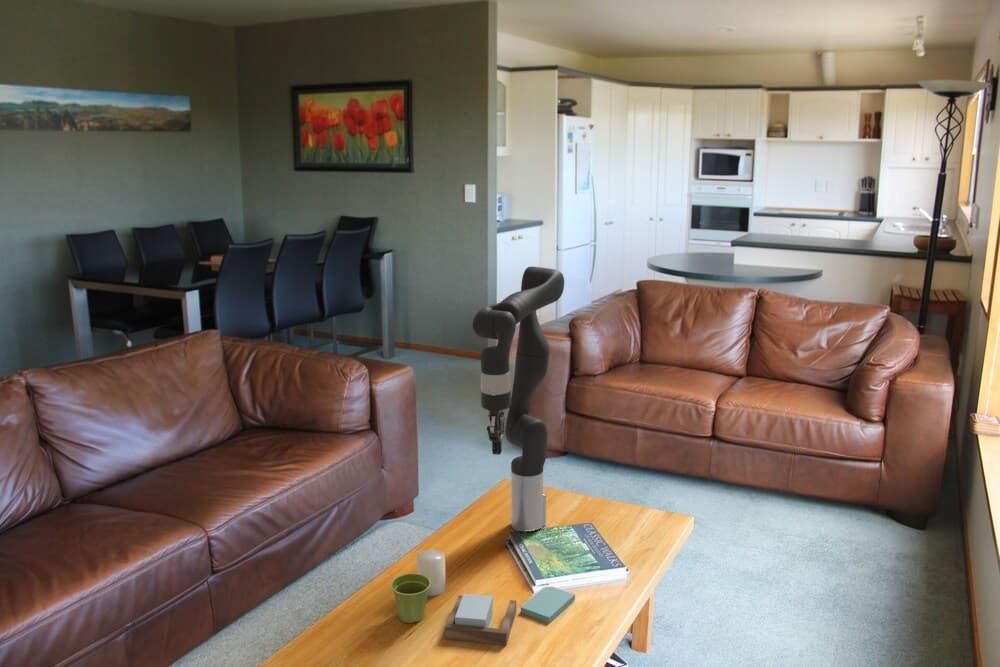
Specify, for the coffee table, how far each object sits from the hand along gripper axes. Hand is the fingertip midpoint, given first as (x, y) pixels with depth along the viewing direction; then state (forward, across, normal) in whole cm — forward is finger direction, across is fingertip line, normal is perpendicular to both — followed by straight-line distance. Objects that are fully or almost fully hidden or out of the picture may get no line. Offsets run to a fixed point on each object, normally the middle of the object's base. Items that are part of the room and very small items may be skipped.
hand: (497, 453), depth 212 cm
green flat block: (+32, +17, +15) cm, 39 cm away
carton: (+31, +28, -1) cm, 42 cm away
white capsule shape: (+31, +14, -15) cm, 37 cm away
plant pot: (+31, +27, -16) cm, 44 cm away
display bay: (+31, +27, +1) cm, 41 cm away
